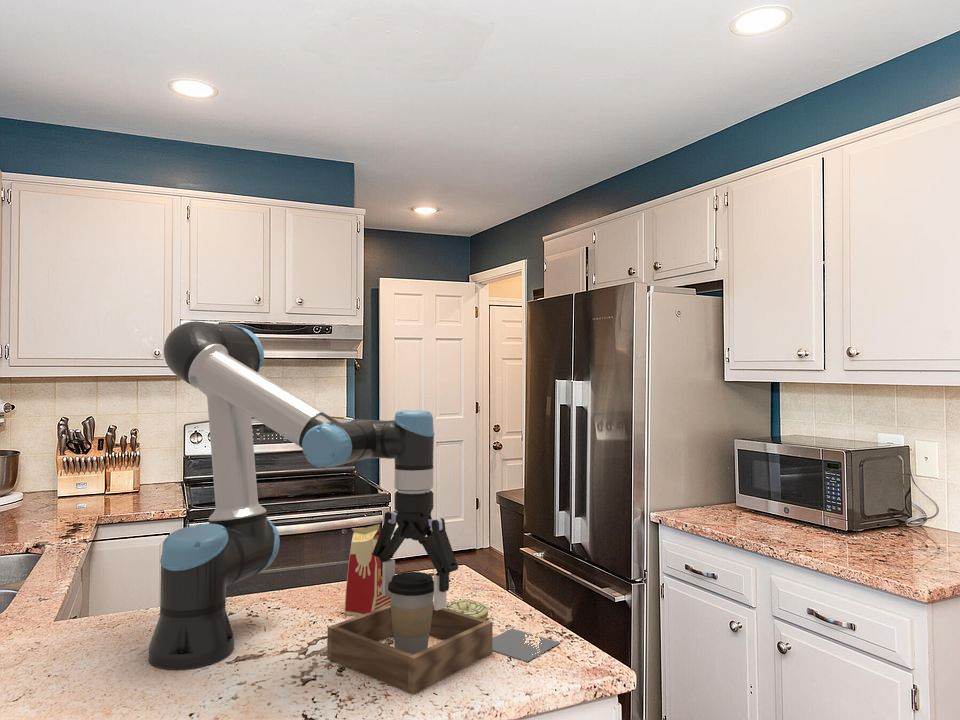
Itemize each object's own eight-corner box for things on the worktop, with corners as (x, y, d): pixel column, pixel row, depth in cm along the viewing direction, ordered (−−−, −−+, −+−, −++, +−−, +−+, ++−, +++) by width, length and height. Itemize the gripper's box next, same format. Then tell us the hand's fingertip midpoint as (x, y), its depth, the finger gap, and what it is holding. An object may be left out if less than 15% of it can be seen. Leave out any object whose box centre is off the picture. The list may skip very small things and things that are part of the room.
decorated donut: (429, 621, 148) (429, 604, 148) (465, 610, 156) (465, 594, 156) (461, 635, 141) (461, 616, 141) (497, 622, 148) (497, 605, 148)
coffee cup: (427, 668, 123) (429, 586, 124) (379, 663, 125) (380, 582, 126) (440, 648, 133) (442, 572, 133) (395, 644, 135) (396, 569, 135)
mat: (527, 662, 127) (527, 661, 127) (477, 646, 134) (477, 645, 134) (560, 643, 136) (560, 642, 136) (512, 629, 144) (512, 628, 144)
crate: (413, 694, 113) (413, 658, 114) (326, 658, 127) (327, 627, 127) (492, 653, 131) (492, 622, 131) (409, 625, 145) (409, 597, 145)
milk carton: (395, 607, 156) (397, 521, 157) (373, 620, 148) (374, 529, 148) (362, 601, 160) (364, 517, 161) (339, 613, 152) (341, 524, 152)
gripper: (476, 494, 125) (476, 609, 125) (382, 482, 141) (382, 584, 140) (450, 499, 119) (450, 620, 119) (355, 486, 135) (355, 593, 134)
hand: (413, 601), depth 129 cm, fingers open, 13 cm apart
